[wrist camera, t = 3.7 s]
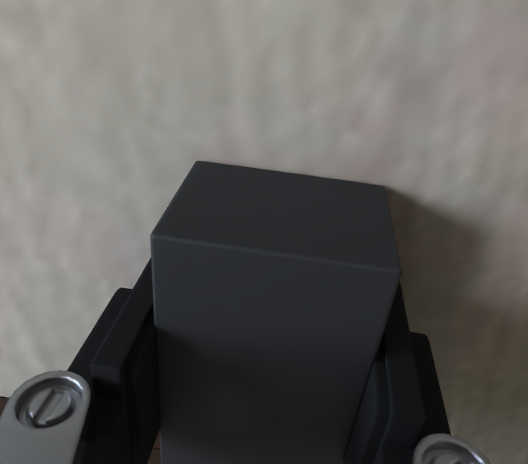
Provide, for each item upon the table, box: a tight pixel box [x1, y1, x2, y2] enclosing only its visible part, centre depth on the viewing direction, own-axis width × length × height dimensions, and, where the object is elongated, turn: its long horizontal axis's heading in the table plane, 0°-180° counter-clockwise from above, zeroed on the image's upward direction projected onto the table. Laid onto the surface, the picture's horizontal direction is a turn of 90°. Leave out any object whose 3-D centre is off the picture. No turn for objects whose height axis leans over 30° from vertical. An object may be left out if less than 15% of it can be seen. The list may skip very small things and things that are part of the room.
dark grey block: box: [150, 161, 402, 464], centre depth 10 cm, size 7×4×3 cm, turn 175°
